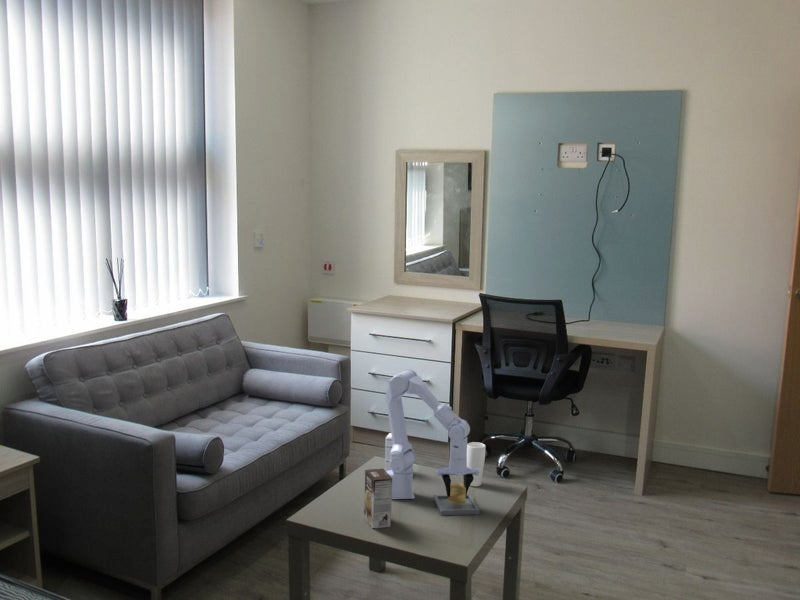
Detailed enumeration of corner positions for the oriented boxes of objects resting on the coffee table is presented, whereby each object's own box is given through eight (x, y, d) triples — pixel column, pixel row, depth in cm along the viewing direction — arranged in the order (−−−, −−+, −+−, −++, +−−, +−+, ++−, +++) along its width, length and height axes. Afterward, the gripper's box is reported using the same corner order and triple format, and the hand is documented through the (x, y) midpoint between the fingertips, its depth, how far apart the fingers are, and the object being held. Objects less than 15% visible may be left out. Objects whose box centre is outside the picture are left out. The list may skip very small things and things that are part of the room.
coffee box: (363, 517, 232) (364, 469, 230) (381, 514, 234) (383, 467, 232) (372, 529, 223) (373, 479, 221) (391, 526, 225) (393, 477, 223)
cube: (450, 503, 239) (451, 489, 239) (447, 497, 244) (448, 483, 243) (465, 503, 240) (465, 488, 239) (461, 497, 245) (462, 483, 244)
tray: (440, 515, 235) (441, 510, 235) (433, 499, 248) (433, 495, 248) (479, 514, 237) (479, 509, 237) (470, 498, 250) (470, 494, 250)
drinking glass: (482, 488, 259) (485, 448, 257) (463, 486, 260) (466, 446, 258) (483, 482, 265) (486, 443, 263) (465, 480, 266) (467, 441, 265)
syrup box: (399, 475, 269) (400, 438, 267) (384, 473, 270) (385, 436, 268) (402, 470, 275) (403, 433, 273) (387, 468, 276) (388, 432, 274)
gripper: (439, 461, 235) (437, 500, 237) (482, 460, 237) (480, 499, 239) (435, 454, 242) (433, 492, 244) (476, 453, 244) (475, 491, 246)
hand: (456, 495), depth 242 cm, fingers open, 5 cm apart
